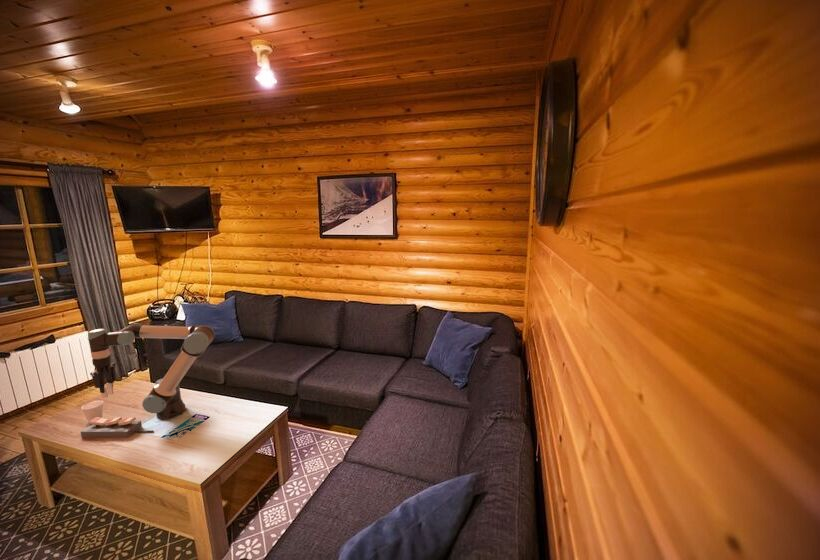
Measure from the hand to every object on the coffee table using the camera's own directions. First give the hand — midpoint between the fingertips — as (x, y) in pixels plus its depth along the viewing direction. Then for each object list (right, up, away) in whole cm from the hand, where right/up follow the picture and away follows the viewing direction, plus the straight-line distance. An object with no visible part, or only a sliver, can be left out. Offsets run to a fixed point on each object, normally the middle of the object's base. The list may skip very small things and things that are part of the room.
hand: (107, 395), depth 189 cm
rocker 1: (-8, -16, +3) cm, 18 cm away
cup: (-20, -21, +14) cm, 32 cm away
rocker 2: (0, -16, +3) cm, 16 cm away
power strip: (+5, -22, +3) cm, 23 cm away
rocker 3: (+8, -16, +3) cm, 18 cm away
